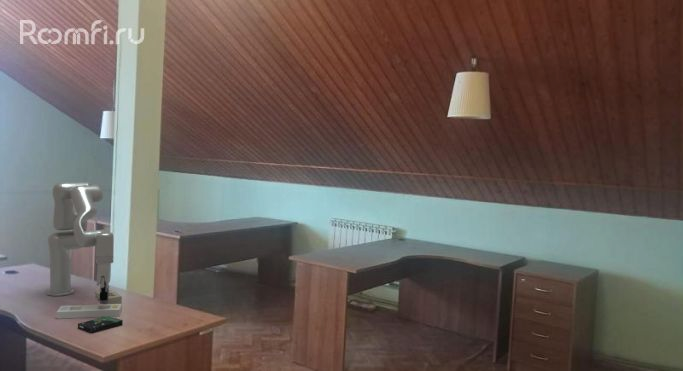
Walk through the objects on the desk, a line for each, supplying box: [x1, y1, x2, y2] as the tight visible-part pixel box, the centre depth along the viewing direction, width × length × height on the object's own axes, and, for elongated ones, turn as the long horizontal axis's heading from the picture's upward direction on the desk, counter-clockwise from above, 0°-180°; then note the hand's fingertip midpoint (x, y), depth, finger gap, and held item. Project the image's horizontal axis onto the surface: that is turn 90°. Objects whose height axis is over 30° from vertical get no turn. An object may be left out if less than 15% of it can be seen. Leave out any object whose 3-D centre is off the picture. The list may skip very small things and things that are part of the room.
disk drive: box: [77, 316, 124, 334], centre depth 244 cm, size 10×3×15 cm
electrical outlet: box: [94, 289, 123, 304], centre depth 284 cm, size 7×4×18 cm
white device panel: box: [55, 303, 123, 320], centre depth 261 cm, size 10×26×3 cm, turn 105°
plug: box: [99, 284, 110, 304], centre depth 262 cm, size 4×4×8 cm
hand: (104, 298), depth 262 cm, fingers closed on plug, 3 cm apart
